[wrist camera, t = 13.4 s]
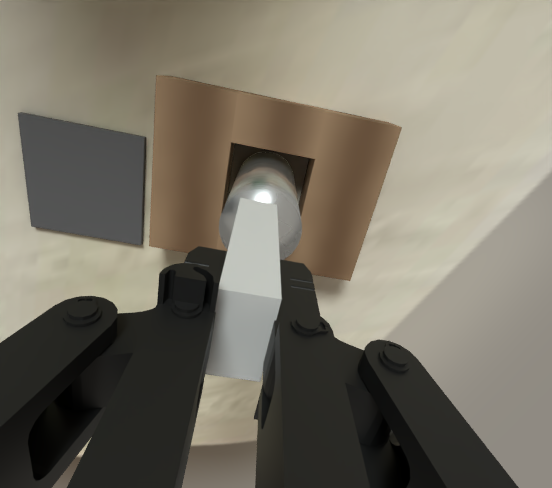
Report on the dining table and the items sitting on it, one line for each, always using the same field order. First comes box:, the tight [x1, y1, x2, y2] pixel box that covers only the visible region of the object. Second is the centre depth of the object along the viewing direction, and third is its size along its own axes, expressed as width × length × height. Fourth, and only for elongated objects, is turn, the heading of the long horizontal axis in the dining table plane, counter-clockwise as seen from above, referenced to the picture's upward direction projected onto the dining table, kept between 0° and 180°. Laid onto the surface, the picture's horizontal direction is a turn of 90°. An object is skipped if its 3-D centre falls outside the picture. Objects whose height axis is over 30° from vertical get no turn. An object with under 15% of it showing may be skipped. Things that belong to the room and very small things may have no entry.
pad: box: [18, 112, 146, 245], centre depth 27 cm, size 9×9×1 cm
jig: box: [149, 75, 402, 281], centre depth 26 cm, size 16×12×3 cm
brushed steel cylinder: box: [219, 152, 302, 260], centre depth 23 cm, size 4×4×10 cm
